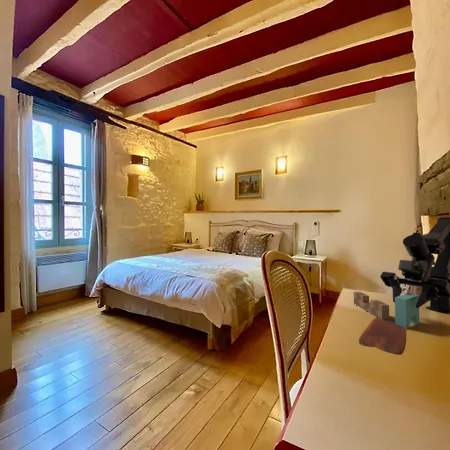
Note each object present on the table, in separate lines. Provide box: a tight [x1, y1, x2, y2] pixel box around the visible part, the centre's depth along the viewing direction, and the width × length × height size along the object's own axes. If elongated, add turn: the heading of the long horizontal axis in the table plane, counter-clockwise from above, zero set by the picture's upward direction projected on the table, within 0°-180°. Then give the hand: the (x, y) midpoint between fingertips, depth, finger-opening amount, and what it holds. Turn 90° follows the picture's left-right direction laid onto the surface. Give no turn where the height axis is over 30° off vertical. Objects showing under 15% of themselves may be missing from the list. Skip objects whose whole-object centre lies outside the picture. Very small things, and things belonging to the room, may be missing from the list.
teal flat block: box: [394, 292, 421, 330], centre depth 81 cm, size 9×3×9 cm, turn 121°
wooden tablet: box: [358, 317, 407, 355], centre depth 75 cm, size 27×10×2 cm, turn 140°
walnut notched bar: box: [353, 291, 390, 319], centre depth 93 cm, size 18×2×5 cm, turn 1°
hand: (405, 304), depth 80 cm, fingers open, 6 cm apart
